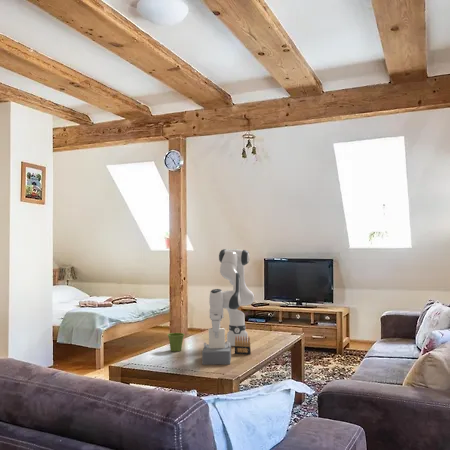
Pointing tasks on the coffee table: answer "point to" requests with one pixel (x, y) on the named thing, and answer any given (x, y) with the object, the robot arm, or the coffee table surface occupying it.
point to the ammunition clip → (242, 346)
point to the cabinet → (216, 355)
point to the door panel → (218, 341)
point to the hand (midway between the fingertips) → (216, 337)
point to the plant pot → (175, 341)
